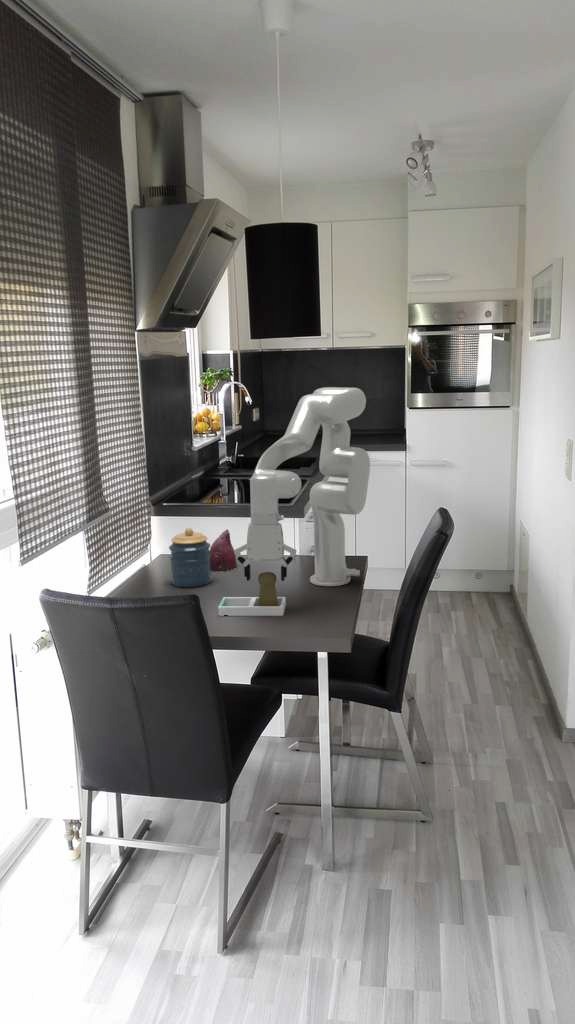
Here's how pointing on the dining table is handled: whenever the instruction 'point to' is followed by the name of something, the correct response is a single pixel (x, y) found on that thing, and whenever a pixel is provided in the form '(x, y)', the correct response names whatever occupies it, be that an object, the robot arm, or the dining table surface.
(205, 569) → the canister
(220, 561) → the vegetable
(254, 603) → the white divided tray
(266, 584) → the cork
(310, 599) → the dining table surface
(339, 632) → the dining table surface
